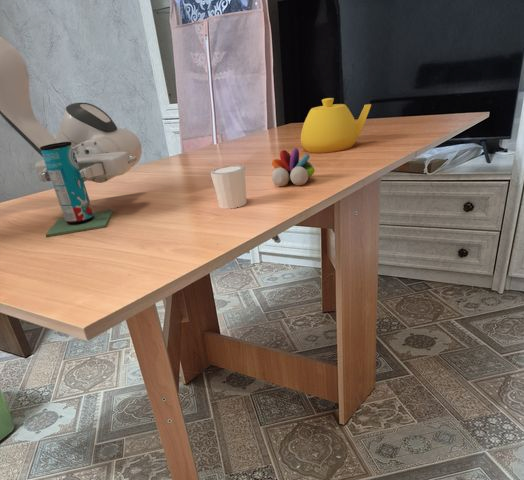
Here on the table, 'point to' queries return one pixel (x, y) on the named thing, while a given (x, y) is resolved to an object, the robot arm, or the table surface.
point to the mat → (65, 228)
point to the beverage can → (67, 182)
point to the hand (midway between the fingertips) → (62, 176)
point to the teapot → (331, 127)
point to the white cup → (230, 186)
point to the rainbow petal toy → (291, 168)
